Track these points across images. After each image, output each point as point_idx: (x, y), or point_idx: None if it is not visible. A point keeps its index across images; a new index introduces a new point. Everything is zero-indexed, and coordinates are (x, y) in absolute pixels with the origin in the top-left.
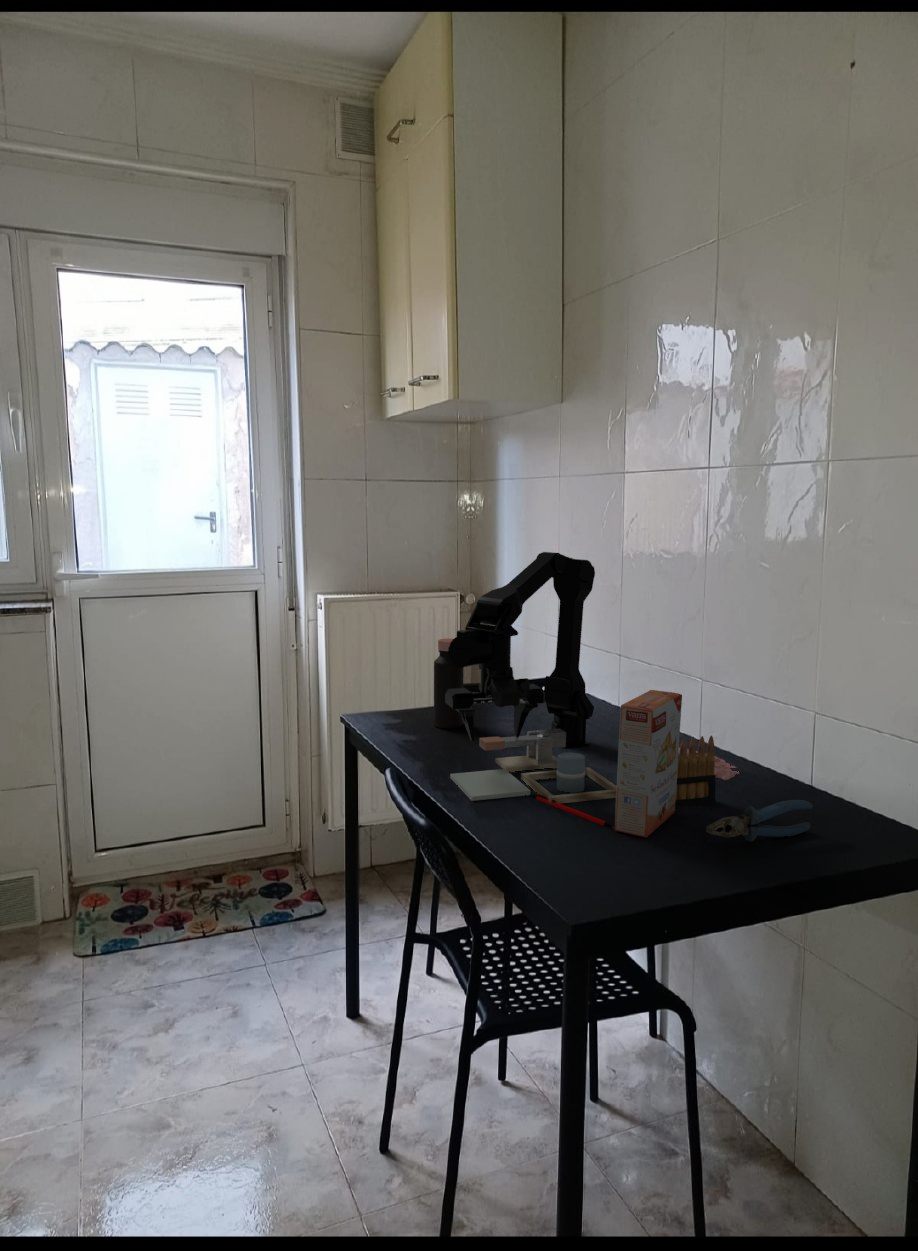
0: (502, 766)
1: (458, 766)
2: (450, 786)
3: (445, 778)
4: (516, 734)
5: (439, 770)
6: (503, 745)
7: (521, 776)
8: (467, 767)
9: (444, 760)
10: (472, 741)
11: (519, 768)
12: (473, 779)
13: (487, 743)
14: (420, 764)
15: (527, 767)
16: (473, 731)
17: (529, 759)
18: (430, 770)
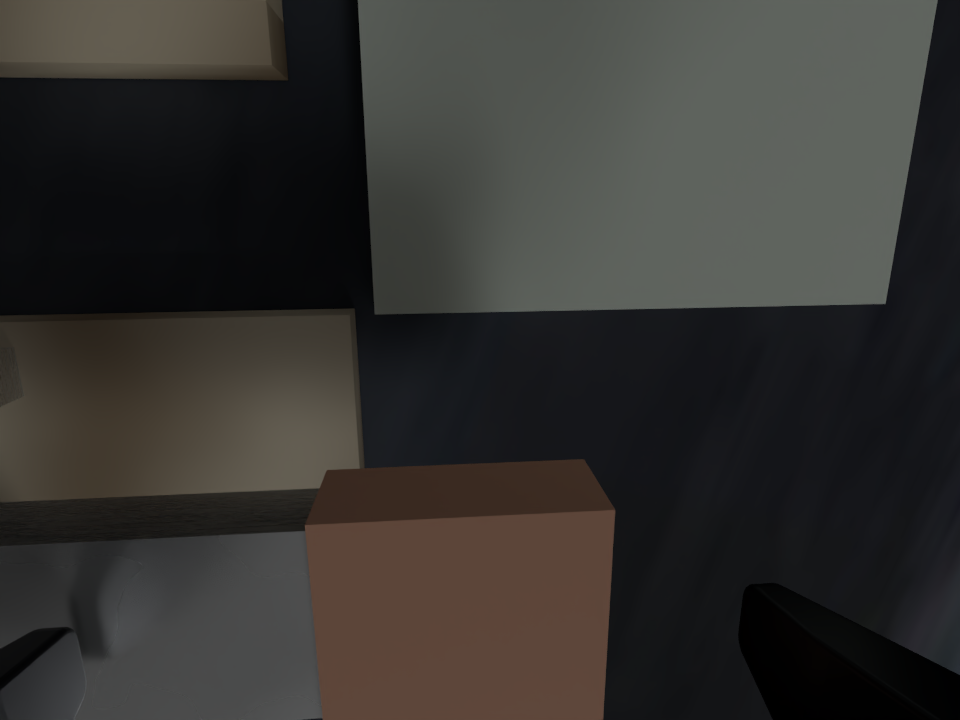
0: (359, 437)
1: (682, 553)
2: (948, 88)
3: (892, 303)
4: (41, 672)
5: (850, 495)
6: (334, 492)
7: (277, 50)
8: (627, 517)
9: (723, 694)
10: (762, 586)
11: (226, 314)
12: (771, 83)
13: (576, 502)
14: (911, 644)
15: (139, 317)
16: (884, 674)
17: None
18: (908, 509)
